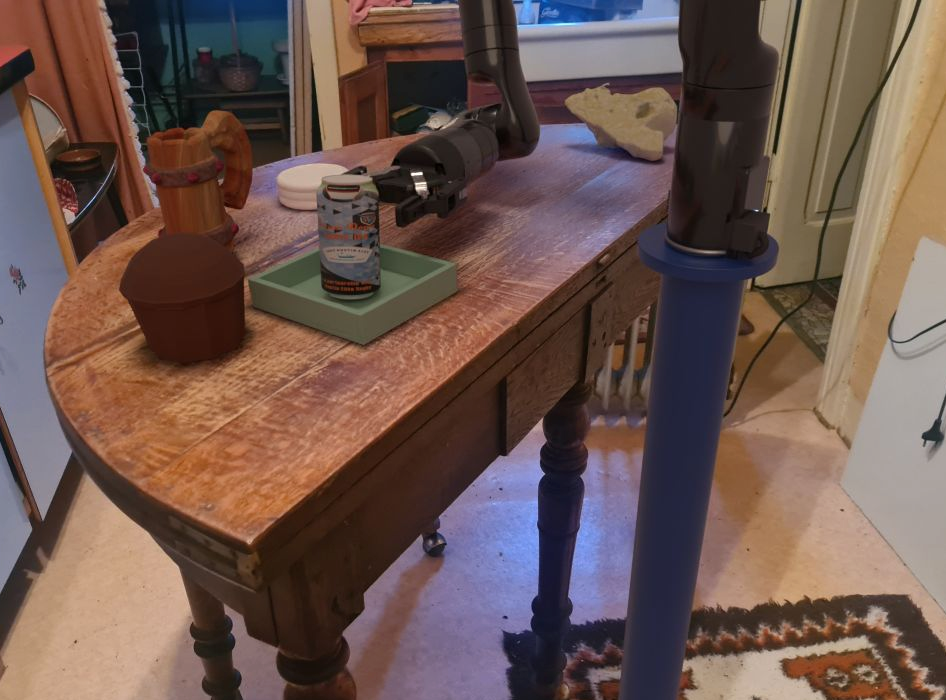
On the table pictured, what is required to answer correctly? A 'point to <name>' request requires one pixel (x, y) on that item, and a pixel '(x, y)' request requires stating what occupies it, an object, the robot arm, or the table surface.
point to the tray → (359, 320)
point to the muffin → (186, 296)
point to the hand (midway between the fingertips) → (362, 212)
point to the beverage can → (349, 236)
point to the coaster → (304, 184)
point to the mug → (201, 177)
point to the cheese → (627, 119)
